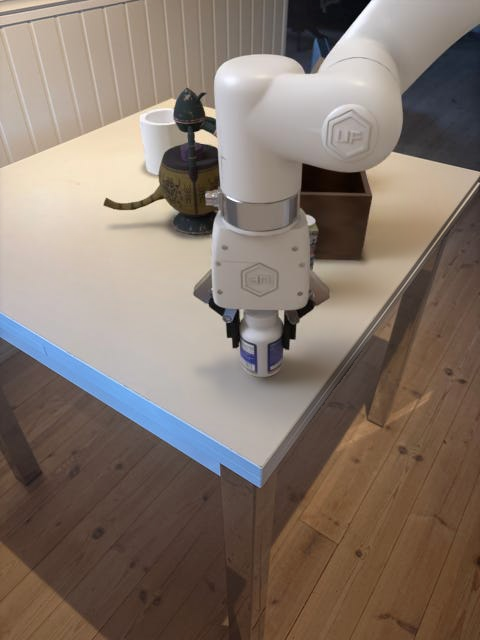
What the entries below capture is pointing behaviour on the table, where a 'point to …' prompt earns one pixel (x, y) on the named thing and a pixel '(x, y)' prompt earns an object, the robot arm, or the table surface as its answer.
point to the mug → (159, 136)
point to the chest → (337, 210)
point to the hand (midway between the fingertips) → (261, 340)
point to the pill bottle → (261, 342)
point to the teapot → (187, 171)
